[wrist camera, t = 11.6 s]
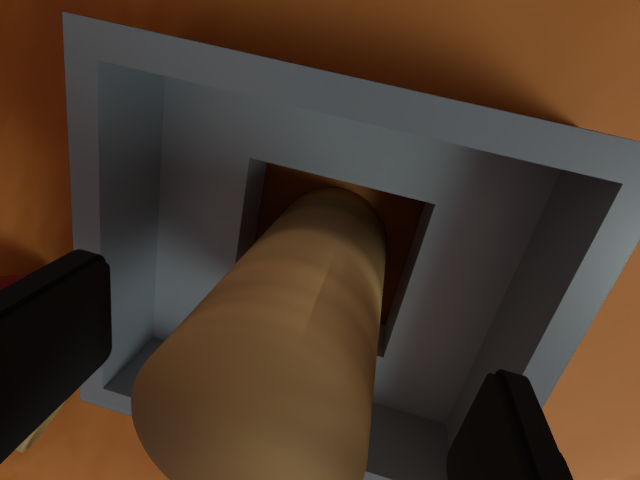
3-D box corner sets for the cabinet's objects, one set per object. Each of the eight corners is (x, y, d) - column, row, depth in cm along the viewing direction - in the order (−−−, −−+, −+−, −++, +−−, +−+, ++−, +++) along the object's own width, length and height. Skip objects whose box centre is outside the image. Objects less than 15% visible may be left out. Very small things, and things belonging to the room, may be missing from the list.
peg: (288, 175, 17) (131, 302, 7) (400, 203, 17) (398, 380, 7) (271, 273, 19) (129, 481, 9) (371, 301, 19) (336, 552, 9)
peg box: (176, 36, 16) (62, 11, 11) (579, 127, 15) (689, 153, 9) (161, 319, 22) (80, 400, 16) (453, 405, 20) (474, 525, 15)
